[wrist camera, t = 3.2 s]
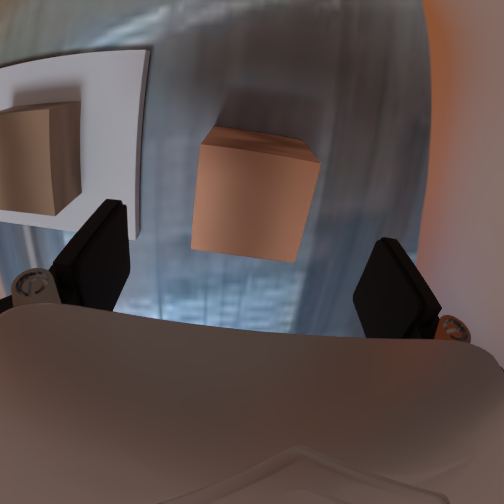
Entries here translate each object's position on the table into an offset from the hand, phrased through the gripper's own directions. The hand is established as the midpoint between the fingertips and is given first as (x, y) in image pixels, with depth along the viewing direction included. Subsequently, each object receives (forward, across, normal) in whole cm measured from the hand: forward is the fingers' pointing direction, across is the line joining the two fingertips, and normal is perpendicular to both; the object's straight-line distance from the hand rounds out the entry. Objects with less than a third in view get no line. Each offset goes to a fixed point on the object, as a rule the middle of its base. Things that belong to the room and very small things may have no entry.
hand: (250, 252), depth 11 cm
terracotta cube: (+11, 0, +1) cm, 11 cm away
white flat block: (+11, +16, 0) cm, 19 cm away
